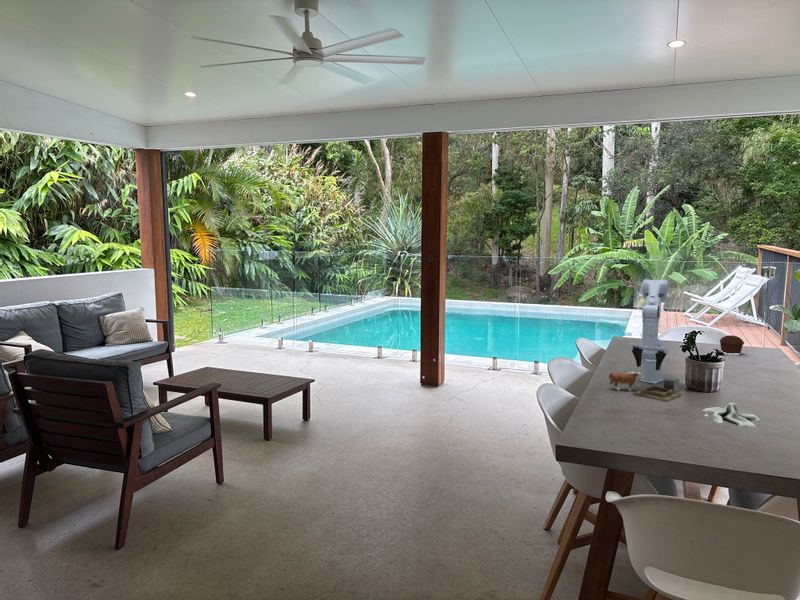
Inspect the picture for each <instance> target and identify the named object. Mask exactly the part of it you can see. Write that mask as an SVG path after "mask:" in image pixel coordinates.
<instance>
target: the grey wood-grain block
mask: <svg viewBox="0 0 800 600" xmlns="http://www.w3.org/2000/svg"><path fill="white" fill-rule="evenodd" d="M663 388H667V389H672V390H674V392H675V393H678V392H679V391H680V378H676V377H670V376H669V377H667V378H664V380H663Z"/></svg>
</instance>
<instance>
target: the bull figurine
mask: <svg viewBox="0 0 800 600" xmlns="http://www.w3.org/2000/svg"><path fill="white" fill-rule="evenodd" d="M608 378H609V380H610V382H609V385H610V389H611V390H614V389H616V391H619V392H621V389H620V388H619V386H618V385H619V384H620V386H623V385H626V384H627V385H628V388H627V389H628V390H627V391H629V392H632V391H634V388H633V386H634V385H635V384H636V383H637V382H639V381H638V380H641V379H644V377H643V375H642V373H641V370H638V371H637V372H636V371H631V372H610V373H609V375H608Z"/></svg>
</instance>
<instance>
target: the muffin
mask: <svg viewBox="0 0 800 600" xmlns="http://www.w3.org/2000/svg"><path fill="white" fill-rule="evenodd" d="M719 343H720V350H722V351H723V352H726V353H740V352H741V353H742V349H743V346H744V345H745V342H744V340H743V339H742V338H741V337H739V336H737V335H732V334H731V335H725V336H723V337H721V338H720V339H719Z"/></svg>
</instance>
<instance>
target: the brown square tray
mask: <svg viewBox="0 0 800 600" xmlns="http://www.w3.org/2000/svg"><path fill="white" fill-rule="evenodd" d="M633 395H634V396H636V397H641V398H647V399H652V400H657V401H661V402H666V403H668V402H670V401H672V400H676V398H679V397H682V393H679V392H674V390H672V389H667V388H664V387H660V386H656V385H649V386H647V387H644V388H642V389H639V390H638V391H636V392H634V393H633Z"/></svg>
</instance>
